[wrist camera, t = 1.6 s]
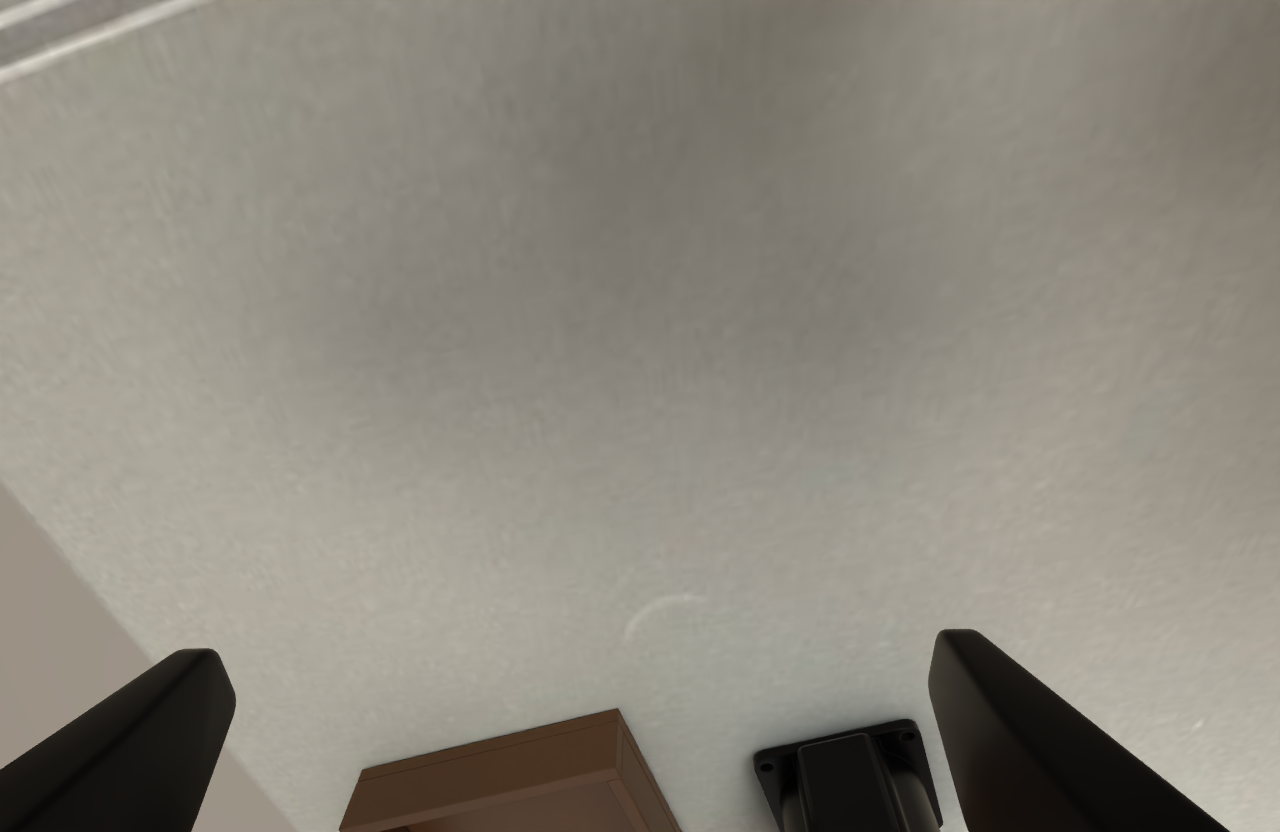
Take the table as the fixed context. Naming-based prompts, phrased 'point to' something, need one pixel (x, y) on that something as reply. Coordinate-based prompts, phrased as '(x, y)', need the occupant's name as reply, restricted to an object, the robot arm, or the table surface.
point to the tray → (518, 785)
